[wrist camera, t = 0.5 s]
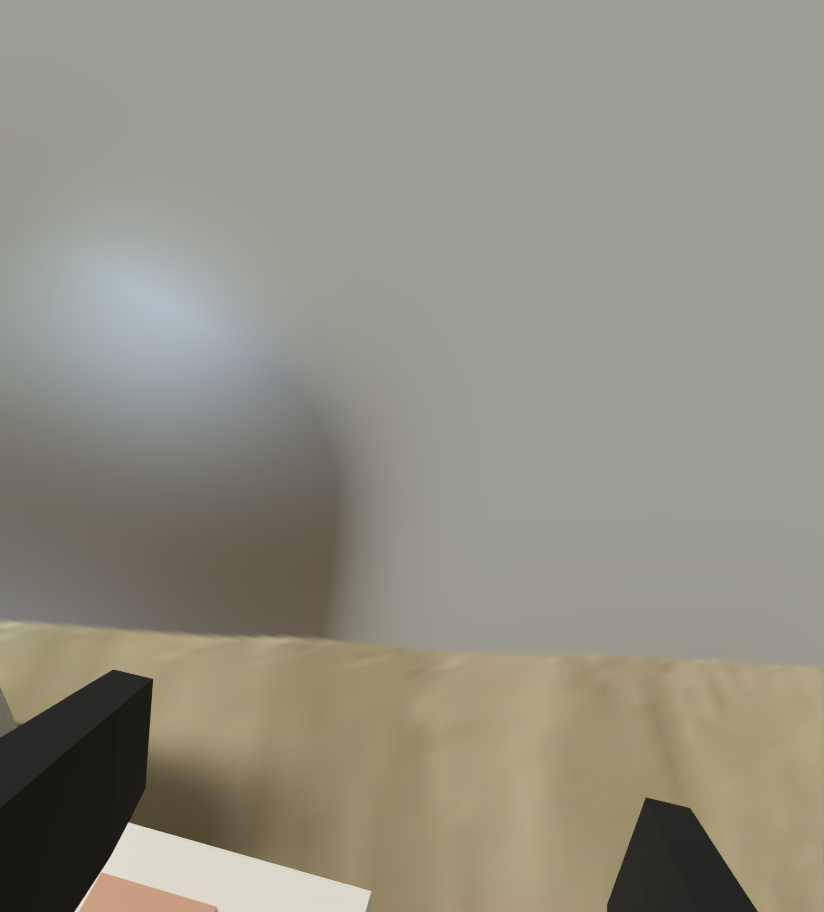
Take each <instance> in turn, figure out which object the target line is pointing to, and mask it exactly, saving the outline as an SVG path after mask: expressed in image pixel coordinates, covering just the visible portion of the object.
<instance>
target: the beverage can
mask: <svg viewBox="0 0 824 912" xmlns="http://www.w3.org/2000/svg"><path fill="white" fill-rule="evenodd" d="M15 728H17V725H16V722H15V720H14V718H13V715H12V713H11V711H10V709H9V706H8V704H7V702H6V699H5V697H4V695H3V693H2V690H1V688H0V737H2V736H3V735H5V734H7V733H9V732H10V731H12V730H14V729H15Z"/></svg>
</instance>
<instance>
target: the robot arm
mask: <svg viewBox="0 0 824 912" xmlns="http://www.w3.org/2000/svg"><path fill="white" fill-rule="evenodd" d="M152 686H153V679H151V678H147V677H142V676H138V675H134V674H130V673H126V672H122V671H117V670H112V671H110V672H109V673H107V674H105V675H103V676H102V677H100V678H98V679H97V680H95V681H93V682H92V683H90V684H88V685H87V686H85V687H83V688H82V689H80V690H78V691H77V692H75V693H73V694H72V695H70V696H68V697H67V698H65V699H64V700H62V701H60V702H59V703H57V704H55V705H54V706H52V707H50V708H49V709H47V710H45V711H44V712H42V713H40V714H39V715H37V716H36V717H34V718H32V719H31V720H29V721H27V722H26V723H24V724H22V725H21V726H19V727H17V728H15V729H14V730H12V731H10V732H9V733H7V734H5V735H3V736H2V737H0V912H75V911H76V909H77V907H78V906H79V904H80V903H81V901H82V900H83V898H84V897H85V895H86V894H87V892H88V891H89V889H90V888H91V886H92V885H93V883H94V882H95V880H96V878H97V877H98V875H99V874H100V872H101V871H102V869H103V868H104V866H105V865H106V863H107V861H108V860H109V858H110V857H111V855H112V853H113V851H114V849H115V847H116V845H117V843H118V842H119V840H120V838H121V836H122V834H123V832H124V830H125V828H126V826H127V824H128V822H129V820H130V818H131V816H132V814H133V812H134V810H135V808H136V806H137V804H138V802H139V800H140V798H141V796H142V794H143V792H144V790H145V784H146V770H147V756H148V742H149V728H150V714H151V700H152ZM607 912H758V911H757V910H756V908H755V907H754V905H753V904H752V902H751V901H750V899H749V898H748V896H747V895H746V893H745V892H744V890H743V889H742V887H741V886H740V884H739V883H738V881H737V880H736V878H735V877H734V875H733V873H732V872H731V870H730V869H729V867H728V866H727V864H726V863H725V861H724V860H723V858H722V857H721V855H720V853H719V852H718V850H717V849H716V847H715V846H714V844H713V843H712V841H711V839H710V838H709V836H708V835H707V833H706V832H705V830H704V829H703V827H702V826H701V824H700V823H699V821H698V819H697V818H696V816H695V815H694V813H693V812H692V810H691V809H690V808H687V807H683V806H679V805H675V804H671V803H667V802H662V801H658V800H654V799H650V798H646V799H645V801H644V804H643V807H642V810H641V813H640V815H639V818H638V821H637V824H636V826H635V829H634V832H633V835H632V837H631V840H630V843H629V846H628V849H627V851H626V854H625V857H624V860H623V862H622V865H621V868H620V871H619V873H618V876H617V879H616V882H615V885H614V887H613V890H612V893H611V896H610V898H609V901H608V904H607Z"/></svg>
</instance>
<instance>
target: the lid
mask: <svg viewBox="0 0 824 912" xmlns="http://www.w3.org/2000/svg"><path fill="white" fill-rule="evenodd" d="M75 912H371V891H368V890H365V889H361V888H358V887H354V886H351V885H347V884H344V883H340V882H337V881H333V880H330V879H326V878H323V877H319V876H316V875H312V874H308V873H305V872H301V871H298V870H294V869H291V868H287V867H284V866H280V865H277V864H273V863H270V862H266V861H263V860H259V859H256V858H252V857H249V856H245V855H241V854H238V853H234V852H231V851H227V850H224V849H220V848H217V847H213V846H210V845H206V844H203V843H199V842H196V841H192V840H189V839H185V838H181V837H178V836H174V835H171V834H167V833H164V832H160V831H157V830H153V829H150V828H146V827H143V826H139V825H136V824H132V823H129V822H128V824H127V826H126V828H125V830H124V832H123V834H122V836H121V838H120V840H119V842H118V843H117V845H116V847H115V849H114V851H113V853H112V855H111V857H110V858H109V860H108V861H107V863H106V865H105V866H104V868H103V869H102V871H101V872H100V874H99V875H98V877H97V878H96V880H95V882H94V883H93V885H92V886H91V888H90V889H89V891H88V892H87V894H86V895H85V897H84V898H83V900H82V901H81V903H80V904H79V906H78V907H77V909H76V911H75Z"/></svg>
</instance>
